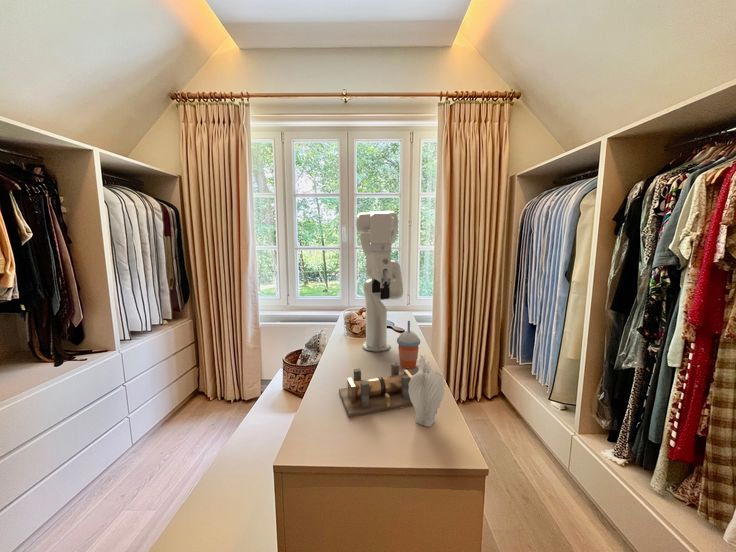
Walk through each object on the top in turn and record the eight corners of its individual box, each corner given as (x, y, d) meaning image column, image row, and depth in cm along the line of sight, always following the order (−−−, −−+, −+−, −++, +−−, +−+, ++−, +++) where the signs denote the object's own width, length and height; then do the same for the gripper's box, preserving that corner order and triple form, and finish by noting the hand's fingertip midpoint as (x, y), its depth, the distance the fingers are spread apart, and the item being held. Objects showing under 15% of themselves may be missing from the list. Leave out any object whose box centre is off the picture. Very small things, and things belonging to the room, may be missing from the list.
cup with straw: (419, 371, 111) (420, 325, 109) (395, 369, 113) (395, 323, 111) (420, 361, 120) (421, 318, 118) (397, 359, 122) (398, 317, 119)
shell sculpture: (436, 435, 76) (438, 369, 73) (406, 425, 80) (407, 362, 77) (444, 418, 83) (447, 357, 81) (416, 409, 87) (418, 351, 85)
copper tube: (351, 404, 88) (351, 386, 87) (347, 394, 93) (347, 378, 92) (413, 393, 94) (414, 377, 93) (406, 385, 99) (406, 369, 98)
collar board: (339, 392, 97) (338, 368, 96) (406, 381, 104) (407, 359, 102) (348, 417, 83) (348, 390, 82) (425, 403, 90) (426, 378, 89)
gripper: (400, 250, 97) (399, 300, 100) (382, 246, 114) (382, 289, 117) (378, 250, 95) (378, 302, 98) (363, 246, 112) (363, 291, 115)
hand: (380, 295), depth 107 cm, fingers open, 9 cm apart
